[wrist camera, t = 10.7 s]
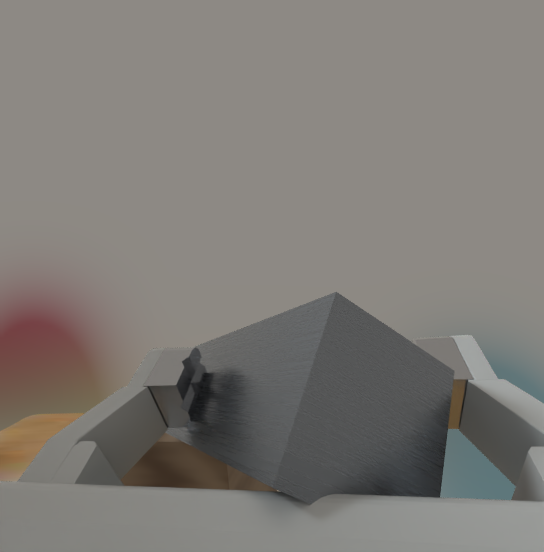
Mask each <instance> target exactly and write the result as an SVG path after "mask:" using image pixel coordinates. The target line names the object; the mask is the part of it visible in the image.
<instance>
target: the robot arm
mask: <svg viewBox="0 0 544 552" xmlns="http://www.w3.org/2000/svg"><path fill="white" fill-rule="evenodd" d="M412 343H414V344H415V345H417V346H418V347H420V348H421V349H423V350H424V351H426V352H427V353H429V354H430V355H432V356H433V357H434V358H436V359H437V360H439V361H440V362H442V363H443V364H445V365H446V366H448V367H449V368H451V369H452V370H454V371H455V372H454V380H453V389H452V397H451V406H450V414H449V423H448V429H459V430H460V431H461V433H462V434H463V435H465V437H466V438H468V440H470V441H471V442H472V444H474V445H475V446H476V447H477V448H478V449H479V450H480V451H481V452H482V453H483V454H484V455H485V456H486V457H487V458H488V459H489V460H490V461H491V462H492V463H493V464H494V465H495V466H496V467H497V468H498V469H499V470H500V471H501V472H502V473H503V474H504V475H505V476H506V477H507V478H508V479H509V480H510V481H511V482H512V483H513V484H514V485H515V486H516V488H515V491H514V494H513V497H512V499H511V500H491V499H463V498H438V497H411V496H384V495H356V494H331V495H327V496H325V497H322V498H320V499H318V500H317V501H315V502H314V503H313V504H309V503H306V502H304V501H302V500H299V499H297V498H295V497H293V496H290V495H288V494H286V493H283V492H276V491H249V490H223V489H197V488H171V487H144V486H124V484H123V483H122V481H121V479H122V478H123V477H124V476H125V474H126V473H127V472H128V471H129V470H130V469H131V468H132V467H133V466H134V465H135V464H136V463H137V462H138V461H139V460H140V459H141V458H142V456H143V455H144V454H145V453H146V452H147V451H148V450H149V449H150V448H151V447H152V446H153V445H154V444H155V443H156V442H157V441H158V439H159V438H160V437H161V436H162V435H163V434H164V433H165V432H166V431H167V430H168V428H183V427H187V426H188V425H189V424H190V423H191V422H192V420H193V417H194V413H195V410H196V407H197V404H198V401H197V398H198V396H199V394H200V392H201V390H202V388H203V385H204V382H205V378H206V375H207V370H206V367H205V366H204V365H202V364H201V363H200V360H201V357H202V356H201V354H200V351H199V349H198V348H195V347H192V348H153V349H151V350H150V351H149V352H148V353H147V355H146V357H145V358H144V360H143V361H142V363H141V365H140V367H139V368H138V370H137V371H136V373H135V374H134V376H133V378H132V380H131V381H130V383H129V384H128V386H127V387H122V388H120V389H119V390H118V391H116V392H115V393H113V394H112V395H111V396H109V397H108V398H106V399H105V400H104V401H102V402H101V403H99V404H98V405H97V406H95V407H94V408H92V409H91V410H89V411H88V412H87V413H85V414H84V415H82V416H81V417H79V418H78V419H77V420H75V421H74V422H72V423H71V424H69V425H68V426H67V427H65V428H64V429H62V430H61V431H60V432H58V433H57V434H55V435H54V436H52V437H51V438H50V439H48V441H47V442H46V443H45V445H44V446H43V447H42V449H41V450H40V451H39V453H38V454H37V456H36V457H35V458H34V460H33V461H32V462H31V464H30V465H29V466H28V468H27V469H26V470H25V472H24V473H23V475H22V476H21V477H20V479H19V480H18V481H17V482H13V481H0V552H544V404H543V403H542V402H540V401H538V400H537V399H535V398H534V397H532V396H530V395H529V394H527V393H526V392H524V391H522V390H521V389H519V388H518V387H516V386H514V385H513V384H511V383H510V382H508V381H506V380H505V379H498V378H497V376H496V375H495V373H494V371H493V370H492V368H491V366H490V365H489V363H488V361H487V359H486V358H485V356H484V355H483V353H482V351H481V349H480V348H479V346H478V344H477V343H476V341H475V339H474V337H472V336H471V335H460V336H450V337H449V336H448V337H428V338H413V339H412Z"/></svg>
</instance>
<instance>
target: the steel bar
mask: <svg viewBox="0 0 544 552" xmlns="http://www.w3.org/2000/svg"><path fill="white" fill-rule="evenodd" d="M195 348H198V349H199V351H200V354H201V356H202V357H201V360H200V363H201V364H202V365H204V366H205V367H206V370H207V375H206V378H205V382H204V385H203V388H202V390H201V392H200V394H199V396H198V398H197V401H198V404H197V407H196V410H195V413H194V417H193V420H192V422H191V423H190V424H189V425H188V426H187V427H183V428H168V430H167V431H166V432H165V433H167V434H169V435H171V436H173V437H175V438H177V439H179V440H181V441H183V442H184V443H186V444H188V445H190V446H192V447H194V448H196V449H198V450H200V451H202V452H204V453H206V454H208V455H210V456H212V457H214V458H215V459H217V460H219V461H221V462H223V463H225V464H227V465H229V466H231V467H233V468H235V469H237V470H239V471H241V472H243V473H245V474H247V475H248V476H250V477H252V478H254V479H256V480H258V481H260V482H262V483H264V484H266V485H268V486H270V487H272V488H274V489H276V490H279V491H281V492H283V493H286V494H288V495H290V496H293V497H295V498H297V499H299V500H302V501H304V502H306V503H309V504H313V503H314V502H315V501H317V500H318V499H320V498H322V497H325V496H327V495H331V494H356V495H384V496H411V497H438V498H440V492H441V483H442V475H443V466H444V457H445V449H446V440H447V431H448V423H449V414H450V406H451V397H452V389H453V380H454V372H455V371H454V370H452V369H451V368H449V367H448V366H446V365H445V364H443V363H442V362H440V361H439V360H437V359H436V358H434V357H433V356H432V355H430V354H429V353H427V352H426V351H424V350H423V349H421V348H420V347H418V346H417V345H415V344H414V343H412V342H411V341H409V340H407V339H406V338H405V337H403V336H402V335H400V334H398V333H397V332H396V331H394V330H392V329H391V328H390V327H388V326H387V325H385V324H384V323H382V322H381V321H379V320H377V319H376V318H375V317H373V316H372V315H370V314H369V313H367V312H365V311H364V310H363V309H361V308H360V307H358V306H357V305H355V304H354V303H352V302H351V301H349V300H348V299H346V298H345V297H343V296H342V295H340V294H339V293H337V292H335V293H332V294H330V295H327V296H325V297H322V298H319V299H317V300H314V301H312V302H309V303H307V304H304V305H301V306H299V307H296V308H294V309H291V310H288V311H286V312H283V313H281V314H278V315H275V316H273V317H270V318H268V319H265V320H262V321H260V322H257V323H255V324H252V325H250V326H247V327H244V328H242V329H240V330H237V331H234V332H231V333H229V334H226V335H224V336H221V337H219V338H216V339H213V340H211V341H208V342H206V343H203V344H200V345H198V346H195Z"/></svg>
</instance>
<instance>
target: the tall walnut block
mask: <svg viewBox="0 0 544 552" xmlns="http://www.w3.org/2000/svg"><path fill="white" fill-rule="evenodd" d="M121 481H122V483H123V484H124V486H144V487H171V488H197V489H223V490H249V491H276V492H277V490H276V489H274V488H272V487H270V486H268V485H266V484H264V483H262V482H260V481H258V480H256V479H254V478H252V477H250V476H248V475H247V474H245V473H243V472H241V471H239V470H237V469H235V468H233V467H231V466H229V465H227V464H225V463H223V462H221V461H219V460H217V459H215V458H214V457H212V456H210V455H208V454H206V453H204V452H202V451H200V450H198V449H196V448H194V447H192V446H190V445H188V444H186V443H184V442H183V441H181V440H179V439H177V438H175V437H173V436H171V435H169V434H167V433H164V434H163V435H162V436H161V437H160V438H159V439H158V441H157V442H156V443H155V444H154V445H153V446H152V447H151V448H150V449H149V450H148V451H147V452H146V453H145V454H144V455H143V456H142V458H141V459H140V460H139V461H138V462H137V463H136V464H135V465H134V466H133V467H132V468H131V469H130V470H129V471H128V472H127V473H126V474H125V476H124V477H123V478H122V479H121Z"/></svg>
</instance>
